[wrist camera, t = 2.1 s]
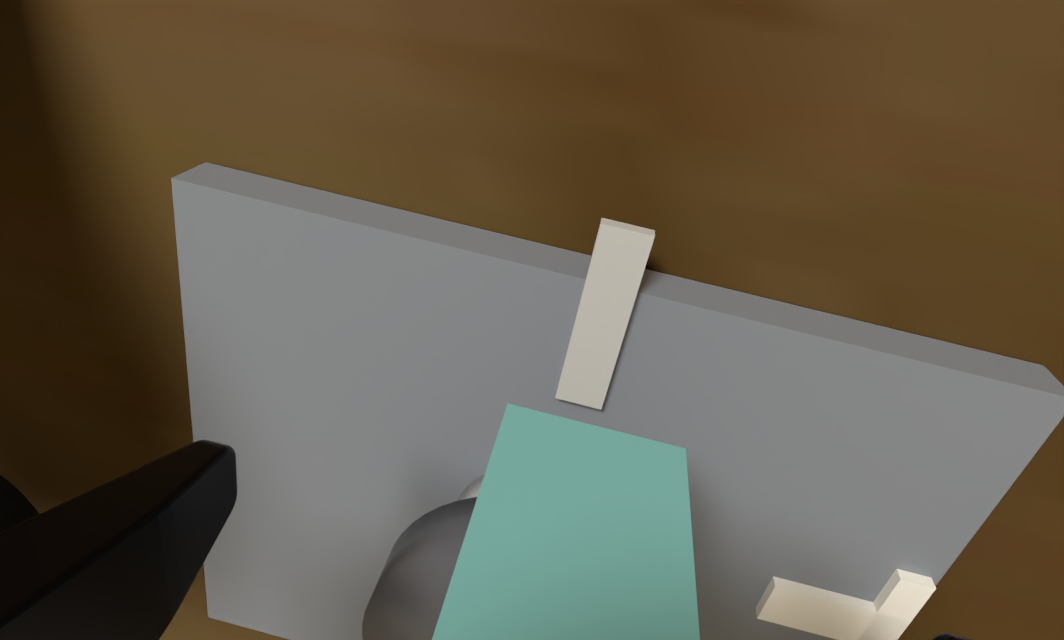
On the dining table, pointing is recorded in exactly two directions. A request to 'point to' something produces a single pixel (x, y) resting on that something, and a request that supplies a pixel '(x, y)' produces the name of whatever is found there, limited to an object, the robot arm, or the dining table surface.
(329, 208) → the base
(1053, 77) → the dining table surface
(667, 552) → the handle
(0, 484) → the cup
